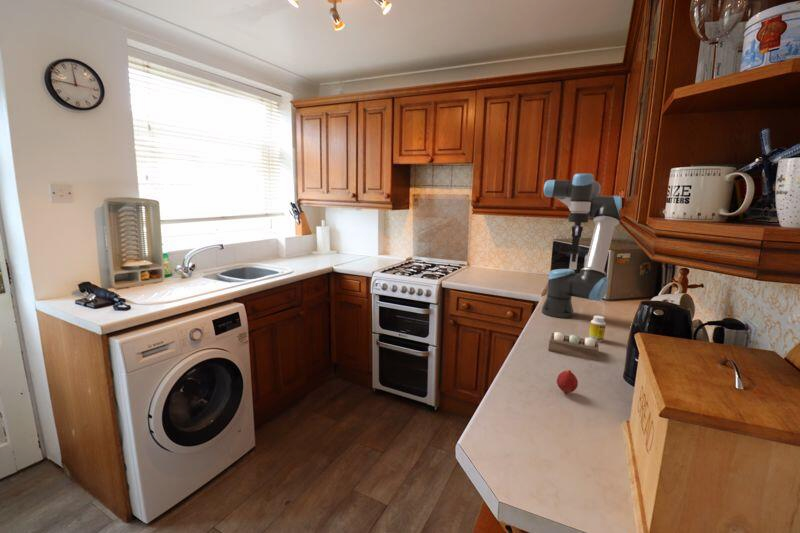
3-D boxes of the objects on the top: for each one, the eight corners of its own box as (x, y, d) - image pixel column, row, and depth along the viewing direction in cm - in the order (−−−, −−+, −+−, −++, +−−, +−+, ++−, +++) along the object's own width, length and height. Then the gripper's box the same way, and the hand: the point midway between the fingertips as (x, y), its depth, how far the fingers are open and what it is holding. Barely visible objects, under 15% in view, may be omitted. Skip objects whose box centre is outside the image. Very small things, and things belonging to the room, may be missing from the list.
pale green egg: (568, 346, 150) (569, 334, 149) (578, 348, 148) (579, 335, 147) (567, 349, 147) (569, 336, 146) (577, 351, 145) (579, 338, 144)
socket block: (551, 342, 156) (552, 333, 155) (597, 350, 148) (598, 341, 148) (548, 350, 147) (549, 341, 146) (597, 360, 140) (598, 350, 139)
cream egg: (553, 343, 152) (554, 331, 151) (563, 345, 151) (564, 333, 150) (552, 346, 149) (553, 334, 148) (562, 348, 148) (563, 335, 147)
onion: (551, 391, 116) (554, 367, 114) (562, 386, 119) (565, 363, 118) (569, 400, 111) (572, 375, 110) (580, 394, 115) (583, 370, 113)
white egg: (583, 349, 147) (585, 336, 146) (593, 351, 146) (595, 338, 145) (583, 352, 144) (585, 339, 143) (593, 354, 143) (595, 341, 142)
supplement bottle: (598, 343, 156) (601, 319, 154) (585, 339, 161) (588, 316, 159) (606, 340, 159) (609, 317, 157) (593, 336, 164) (596, 314, 162)
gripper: (570, 211, 162) (564, 265, 166) (568, 212, 150) (561, 270, 155) (589, 212, 158) (583, 267, 163) (589, 213, 147) (582, 272, 151)
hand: (572, 268), depth 159 cm, fingers closed
